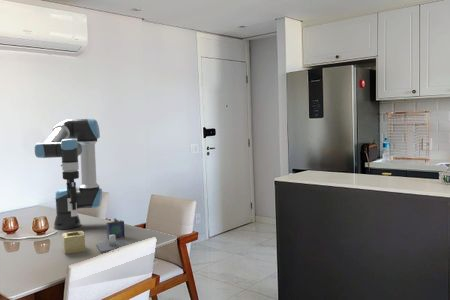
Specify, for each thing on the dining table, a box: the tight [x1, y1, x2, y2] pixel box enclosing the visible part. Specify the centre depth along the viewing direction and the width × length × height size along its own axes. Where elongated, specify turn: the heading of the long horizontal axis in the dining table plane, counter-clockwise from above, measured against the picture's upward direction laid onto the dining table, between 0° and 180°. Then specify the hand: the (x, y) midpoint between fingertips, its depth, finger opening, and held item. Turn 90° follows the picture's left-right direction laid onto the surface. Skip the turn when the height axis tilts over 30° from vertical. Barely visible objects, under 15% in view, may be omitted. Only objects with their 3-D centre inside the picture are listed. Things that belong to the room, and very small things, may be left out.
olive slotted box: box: [61, 230, 86, 255], centre depth 207 cm, size 10×10×8 cm
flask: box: [106, 217, 125, 240], centre depth 227 cm, size 9×3×11 cm, turn 109°
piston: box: [95, 235, 129, 254], centre depth 210 cm, size 14×14×6 cm
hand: (72, 213), depth 206 cm, fingers open, 13 cm apart
